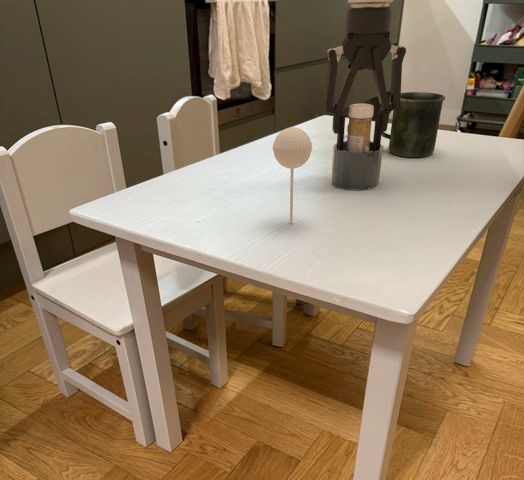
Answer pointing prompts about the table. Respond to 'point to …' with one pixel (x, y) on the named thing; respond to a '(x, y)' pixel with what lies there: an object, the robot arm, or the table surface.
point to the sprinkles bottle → (359, 127)
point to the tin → (356, 167)
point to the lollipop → (292, 153)
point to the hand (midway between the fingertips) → (357, 150)
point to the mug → (415, 124)
